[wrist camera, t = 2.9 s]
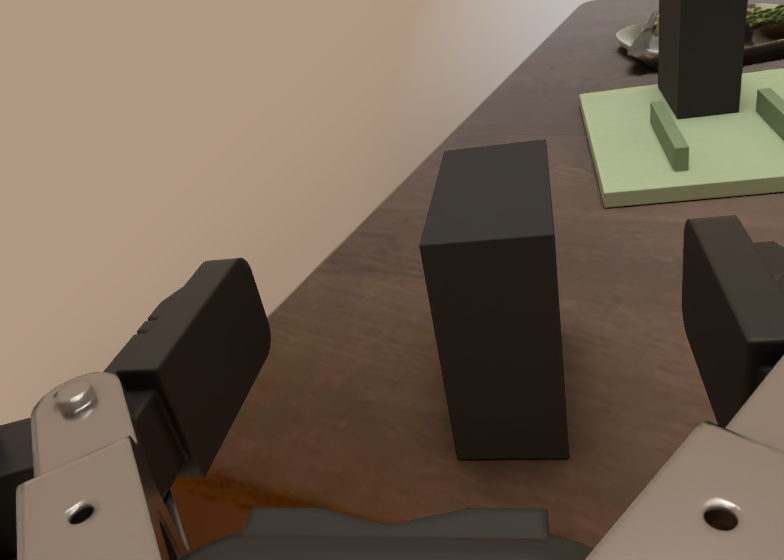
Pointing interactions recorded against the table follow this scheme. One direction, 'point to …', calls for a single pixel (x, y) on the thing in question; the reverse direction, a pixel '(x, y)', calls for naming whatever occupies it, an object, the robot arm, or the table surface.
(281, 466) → the table surface
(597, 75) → the table surface
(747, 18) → the salad plate
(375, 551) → the robot arm
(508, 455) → the tall dark upright box
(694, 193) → the dock mat
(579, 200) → the table surface
